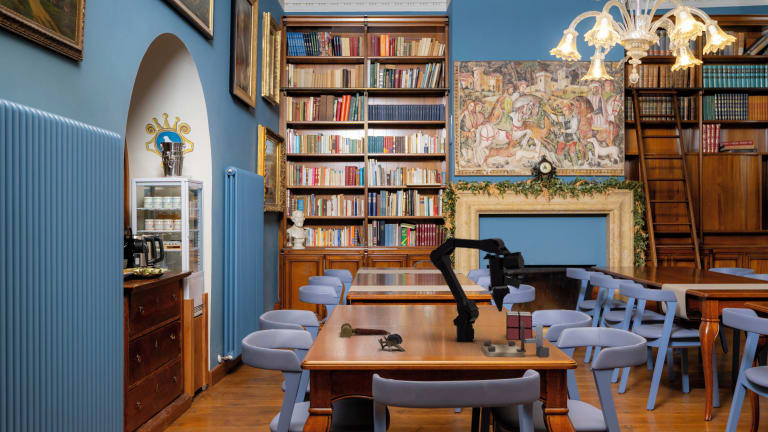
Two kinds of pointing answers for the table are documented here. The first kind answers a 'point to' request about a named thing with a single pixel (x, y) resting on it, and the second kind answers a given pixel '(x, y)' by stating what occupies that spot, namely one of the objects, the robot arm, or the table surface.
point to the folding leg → (537, 337)
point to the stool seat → (505, 347)
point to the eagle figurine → (392, 341)
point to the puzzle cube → (518, 325)
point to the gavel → (360, 331)
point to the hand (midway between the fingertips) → (500, 311)
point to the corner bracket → (542, 351)
